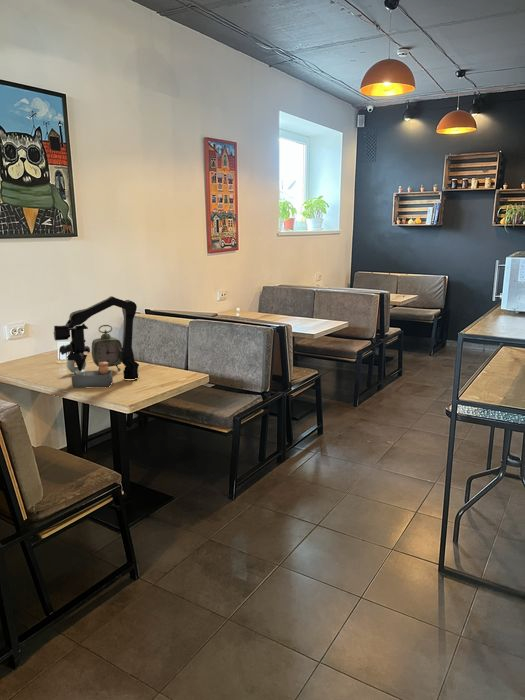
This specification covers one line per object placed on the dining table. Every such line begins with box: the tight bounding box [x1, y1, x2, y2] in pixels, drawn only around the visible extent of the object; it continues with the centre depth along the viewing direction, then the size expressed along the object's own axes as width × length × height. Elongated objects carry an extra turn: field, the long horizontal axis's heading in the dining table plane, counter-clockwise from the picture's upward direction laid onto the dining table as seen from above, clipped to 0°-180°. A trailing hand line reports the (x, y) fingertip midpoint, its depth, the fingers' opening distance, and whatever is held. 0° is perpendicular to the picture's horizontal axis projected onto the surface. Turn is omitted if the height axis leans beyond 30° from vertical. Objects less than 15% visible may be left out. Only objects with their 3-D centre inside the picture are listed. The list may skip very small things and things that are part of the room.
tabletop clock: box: [91, 324, 123, 372], centre depth 270 cm, size 14×9×25 cm, turn 118°
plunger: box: [75, 369, 86, 375], centre depth 245 cm, size 4×4×6 cm
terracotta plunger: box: [98, 362, 109, 374], centre depth 245 cm, size 4×4×6 cm
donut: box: [66, 359, 87, 374], centre depth 267 cm, size 10×4×10 cm, turn 138°
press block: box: [71, 369, 114, 389], centre depth 246 cm, size 17×9×6 cm, turn 96°
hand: (80, 370), depth 245 cm, fingers closed, pressing on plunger
